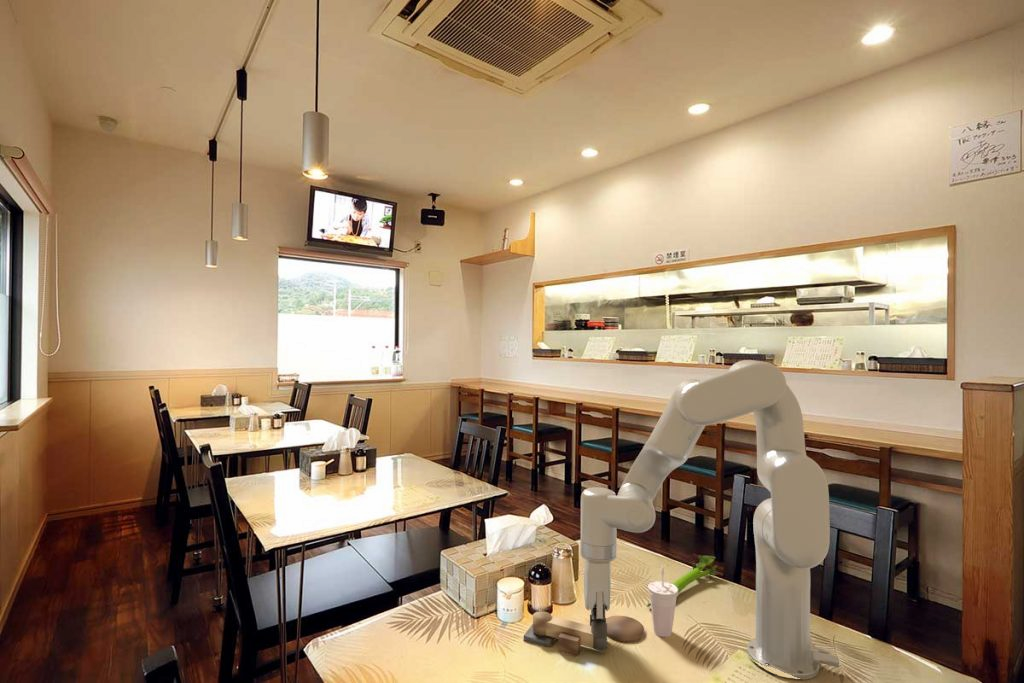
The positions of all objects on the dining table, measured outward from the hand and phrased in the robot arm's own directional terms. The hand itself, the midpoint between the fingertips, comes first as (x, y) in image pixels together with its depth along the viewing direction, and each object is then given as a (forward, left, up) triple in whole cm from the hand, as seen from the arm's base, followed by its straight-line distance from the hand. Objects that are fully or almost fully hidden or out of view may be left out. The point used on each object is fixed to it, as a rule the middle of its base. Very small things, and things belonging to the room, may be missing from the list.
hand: (597, 635), depth 108 cm
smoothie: (-12, -9, -1) cm, 15 cm away
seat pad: (-4, -6, -1) cm, 7 cm away
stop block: (+4, +6, -1) cm, 8 cm away
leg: (+5, +4, 0) cm, 6 cm away
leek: (-14, -31, -2) cm, 34 cm away
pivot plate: (+11, +4, -1) cm, 12 cm away
